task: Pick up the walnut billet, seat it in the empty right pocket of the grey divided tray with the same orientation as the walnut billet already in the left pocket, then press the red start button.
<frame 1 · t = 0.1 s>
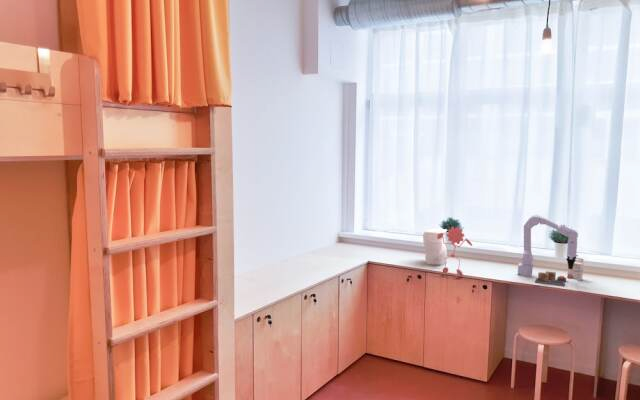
hand: (570, 267, 330), 10 cm above the worktop, fingers open, 7 cm apart
button cap: (561, 278, 331), point 3 cm above the worktop, slide at 0.0 cm
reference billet: (542, 282, 327), point 1 cm above the worktop, touching grey divided tray
figurine: (453, 275, 345), on the worktop
button housing: (561, 282, 331), on the worktop
billet: (550, 280, 334), on the worktop
grey divided tray: (549, 284, 325), on the worktop
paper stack: (432, 263, 382), on the worktop
ink cartridge box: (574, 279, 341), on the worktop
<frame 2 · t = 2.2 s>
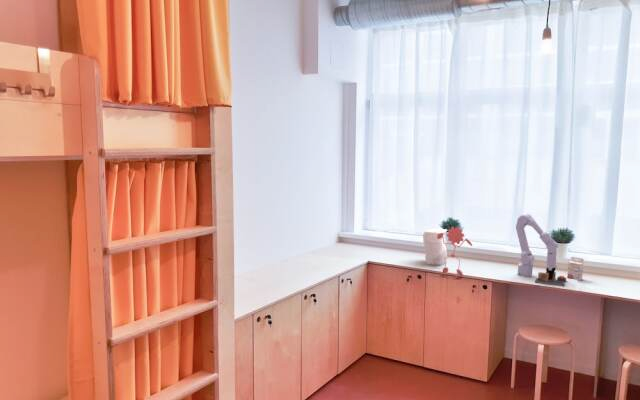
hand: (550, 278, 334), 2 cm above the worktop, fingers closed on billet, 4 cm apart
billet: (550, 280, 334), on the worktop, touching gripper
everything else where it was.
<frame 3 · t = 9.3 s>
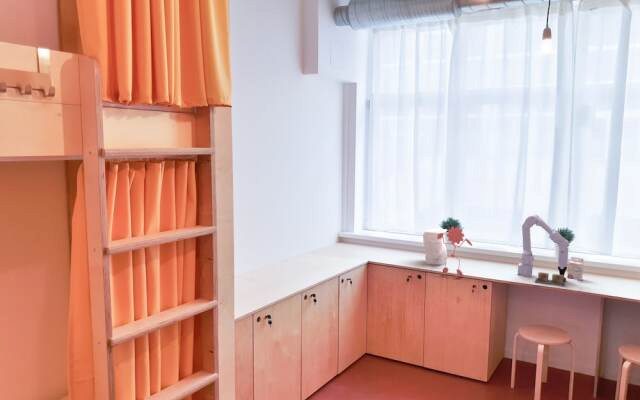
hand: (561, 277, 331), 3 cm above the worktop, fingers closed, pressing on button cap
button cap: (561, 278, 331), point 2 cm above the worktop, slide at 0.6 cm, touching gripper
billet: (556, 283, 323), point 1 cm above the worktop, touching grey divided tray
everything else where it was.
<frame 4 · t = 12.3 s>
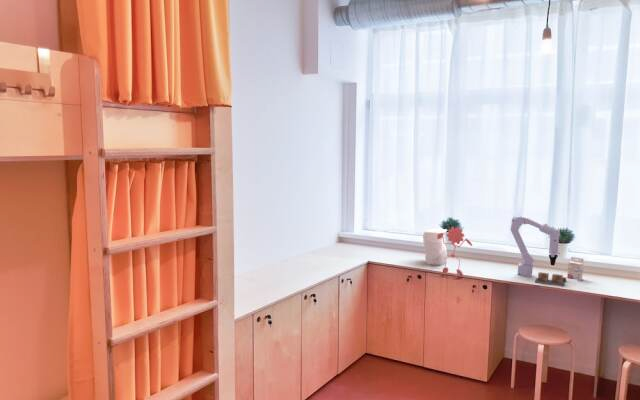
hand: (552, 265, 340), 9 cm above the worktop, fingers closed
button cap: (561, 279, 331), point 2 cm above the worktop, slide at 0.7 cm
everything else where it was.
at the end: billet 0.1 cm from the target spot on the grey divided tray, point 1.0 cm above the grey divided tray's base; billet tilted 0°; button cap slide at 0.7 cm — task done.
